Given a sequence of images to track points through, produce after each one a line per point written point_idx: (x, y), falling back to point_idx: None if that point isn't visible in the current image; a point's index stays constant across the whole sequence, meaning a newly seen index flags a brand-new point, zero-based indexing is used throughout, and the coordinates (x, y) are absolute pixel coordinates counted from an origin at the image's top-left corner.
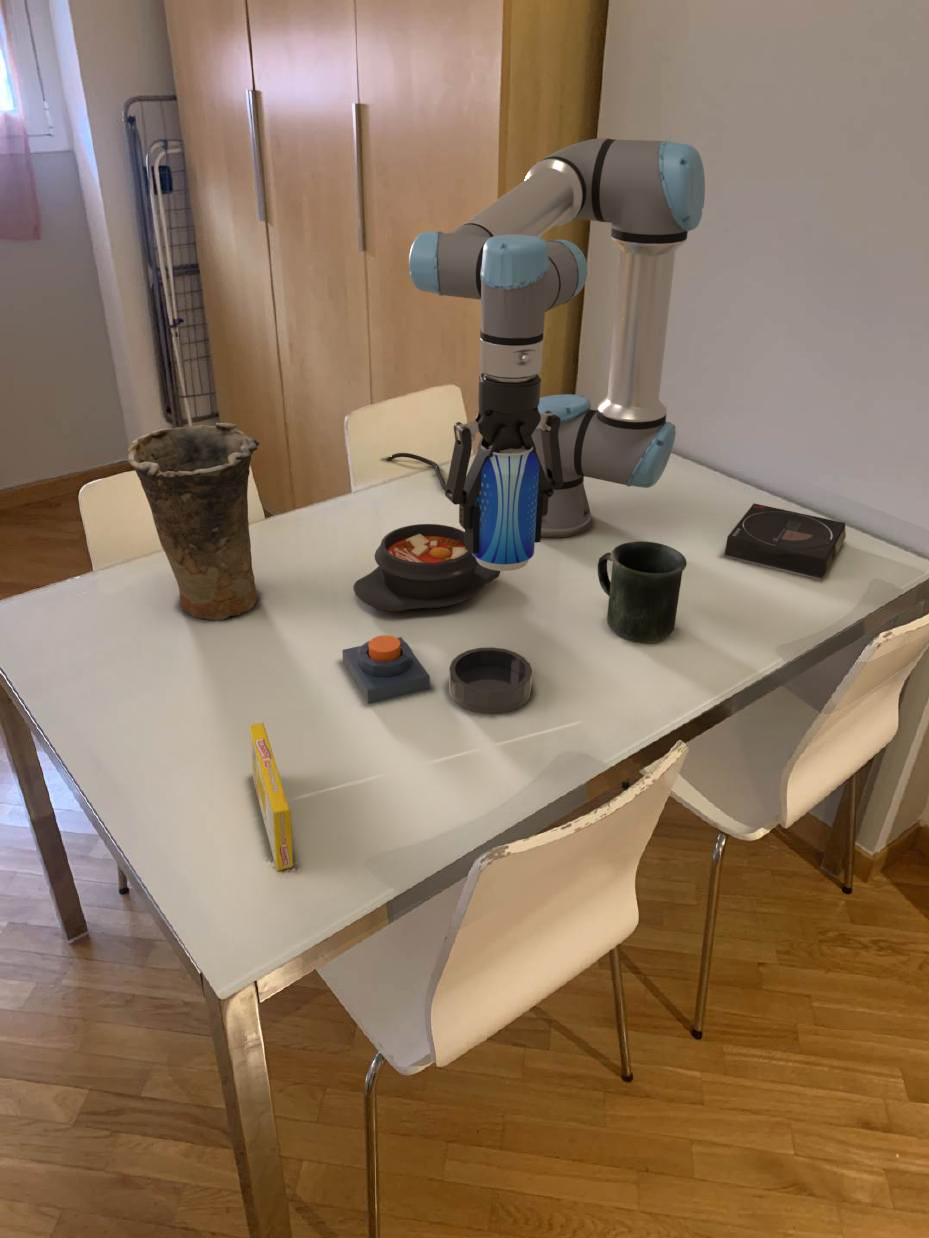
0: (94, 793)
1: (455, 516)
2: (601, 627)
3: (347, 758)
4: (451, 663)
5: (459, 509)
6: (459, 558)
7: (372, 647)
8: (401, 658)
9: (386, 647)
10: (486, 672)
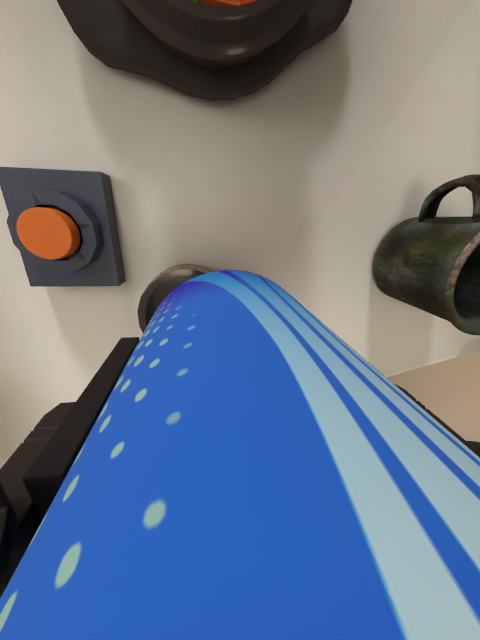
0: None
1: None
2: (371, 240)
3: (11, 358)
4: (146, 290)
5: (2, 469)
6: (253, 9)
7: (22, 238)
8: (76, 261)
9: (46, 247)
10: None
